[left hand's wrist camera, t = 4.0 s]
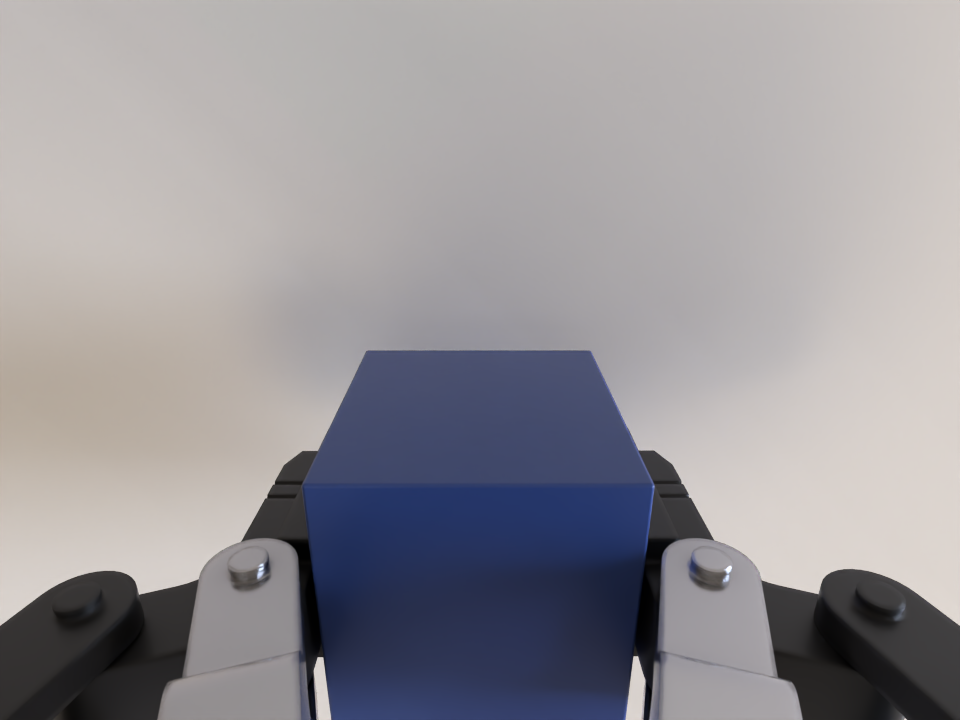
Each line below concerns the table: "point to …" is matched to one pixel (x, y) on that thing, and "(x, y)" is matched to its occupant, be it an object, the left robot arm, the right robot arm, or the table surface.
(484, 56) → the table surface
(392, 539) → the brick
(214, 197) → the table surface
